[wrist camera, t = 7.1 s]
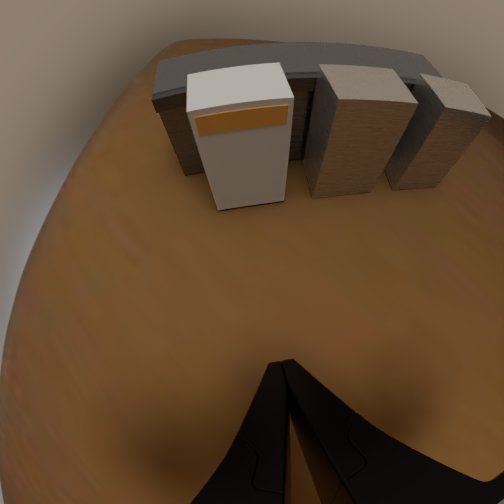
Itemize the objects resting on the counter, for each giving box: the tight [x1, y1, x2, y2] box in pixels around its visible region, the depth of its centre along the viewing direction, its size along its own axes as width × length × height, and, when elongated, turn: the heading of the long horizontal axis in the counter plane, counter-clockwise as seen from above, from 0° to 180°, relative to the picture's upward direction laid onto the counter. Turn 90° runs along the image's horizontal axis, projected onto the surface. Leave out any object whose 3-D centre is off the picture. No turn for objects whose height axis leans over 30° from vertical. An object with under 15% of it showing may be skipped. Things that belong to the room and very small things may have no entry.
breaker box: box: [152, 42, 491, 198], centre depth 16 cm, size 8×20×9 cm, turn 98°
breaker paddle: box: [186, 62, 294, 210], centre depth 15 cm, size 3×4×9 cm
